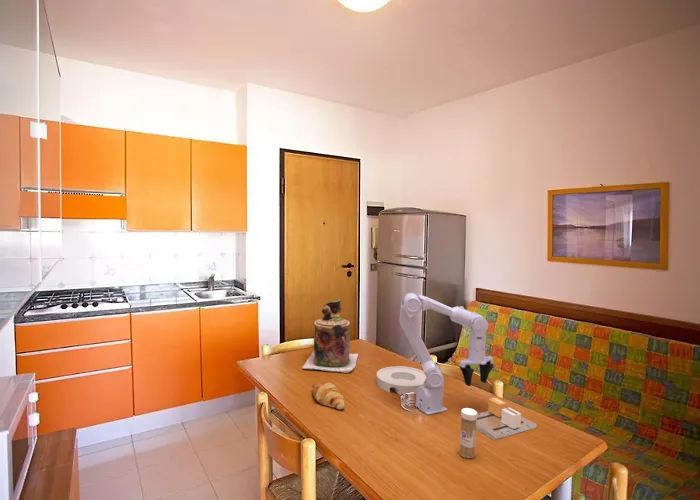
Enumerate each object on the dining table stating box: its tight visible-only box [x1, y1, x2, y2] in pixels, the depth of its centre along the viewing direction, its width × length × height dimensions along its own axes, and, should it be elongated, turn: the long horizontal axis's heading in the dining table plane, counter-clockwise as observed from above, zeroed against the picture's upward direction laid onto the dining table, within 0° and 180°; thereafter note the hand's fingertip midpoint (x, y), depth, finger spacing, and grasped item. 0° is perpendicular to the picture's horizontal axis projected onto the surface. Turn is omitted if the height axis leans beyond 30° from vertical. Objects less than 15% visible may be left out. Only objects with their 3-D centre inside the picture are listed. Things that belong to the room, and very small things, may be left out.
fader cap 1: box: [487, 397, 507, 417], centre depth 141 cm, size 4×5×5 cm
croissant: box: [312, 381, 346, 410], centre depth 151 cm, size 21×10×8 cm, turn 37°
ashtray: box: [376, 365, 426, 396], centre depth 170 cm, size 23×23×4 cm
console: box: [476, 410, 537, 441], centre depth 136 cm, size 20×15×1 cm
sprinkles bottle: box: [458, 407, 478, 460], centre depth 116 cm, size 5×5×14 cm
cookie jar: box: [301, 299, 359, 374], centre depth 192 cm, size 25×25×32 cm
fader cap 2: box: [501, 407, 522, 429], centre depth 133 cm, size 4×5×5 cm
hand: (475, 383), depth 145 cm, fingers open, 7 cm apart
